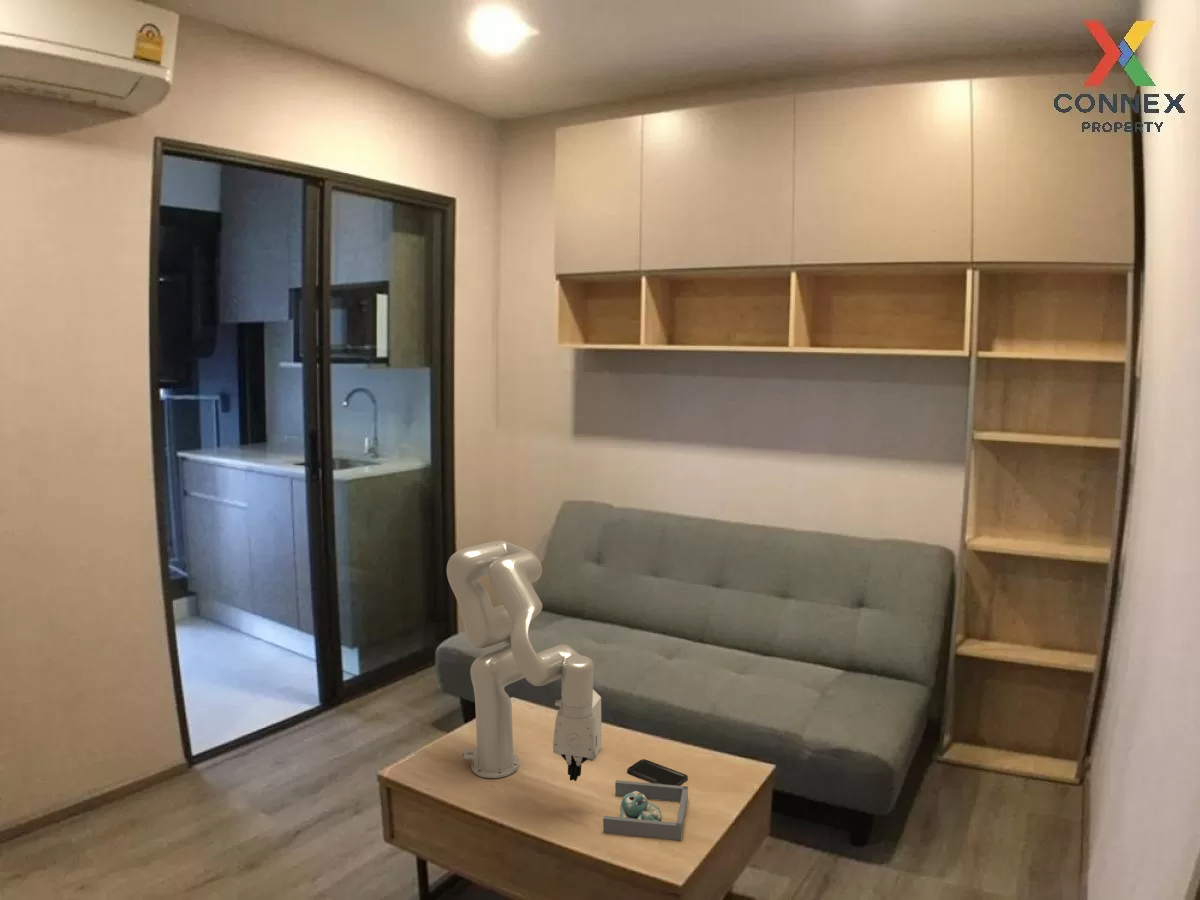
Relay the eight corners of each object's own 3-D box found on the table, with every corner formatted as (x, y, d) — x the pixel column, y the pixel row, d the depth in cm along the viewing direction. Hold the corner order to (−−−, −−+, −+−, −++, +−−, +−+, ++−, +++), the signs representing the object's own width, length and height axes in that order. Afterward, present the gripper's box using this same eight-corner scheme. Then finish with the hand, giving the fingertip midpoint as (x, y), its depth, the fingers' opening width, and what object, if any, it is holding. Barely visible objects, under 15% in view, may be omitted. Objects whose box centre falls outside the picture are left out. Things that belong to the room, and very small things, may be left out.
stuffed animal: (640, 821, 195) (609, 789, 204) (637, 847, 197) (606, 814, 206) (677, 805, 201) (645, 775, 211) (673, 830, 204) (641, 800, 213)
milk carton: (601, 748, 240) (601, 683, 237) (593, 760, 233) (592, 693, 231) (577, 744, 242) (576, 680, 240) (568, 756, 236) (567, 690, 233)
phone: (642, 758, 233) (689, 775, 223) (642, 762, 233) (689, 780, 224) (625, 770, 227) (672, 788, 217) (625, 774, 227) (672, 792, 218)
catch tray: (603, 832, 200) (603, 818, 200) (616, 793, 217) (616, 780, 216) (681, 840, 197) (681, 826, 196) (688, 799, 213) (688, 786, 213)
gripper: (542, 711, 204) (540, 781, 208) (604, 718, 202) (601, 790, 205) (550, 696, 211) (548, 765, 215) (610, 704, 209) (607, 773, 212)
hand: (574, 777), depth 210 cm, fingers closed
